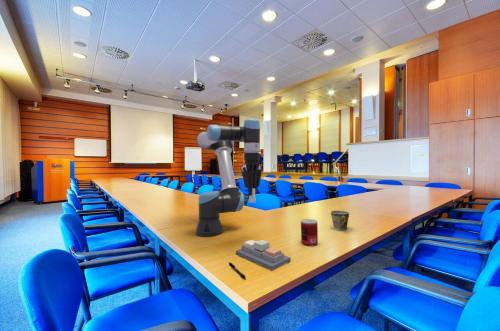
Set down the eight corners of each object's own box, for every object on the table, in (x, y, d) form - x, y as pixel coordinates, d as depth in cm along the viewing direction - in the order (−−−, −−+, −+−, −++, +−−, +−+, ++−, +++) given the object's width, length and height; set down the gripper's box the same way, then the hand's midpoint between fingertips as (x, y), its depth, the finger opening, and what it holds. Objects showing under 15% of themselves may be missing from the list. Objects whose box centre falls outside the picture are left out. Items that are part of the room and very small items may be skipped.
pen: (247, 281, 73) (248, 277, 73) (243, 280, 72) (244, 277, 72) (231, 264, 85) (232, 261, 85) (227, 264, 84) (228, 261, 84)
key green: (254, 248, 90) (253, 242, 90) (261, 245, 93) (261, 239, 93) (261, 251, 86) (261, 245, 86) (269, 248, 89) (269, 242, 90)
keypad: (235, 254, 94) (235, 245, 94) (253, 247, 101) (253, 239, 101) (272, 270, 78) (271, 260, 78) (290, 261, 86) (290, 252, 86)
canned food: (319, 242, 106) (319, 220, 106) (314, 247, 99) (314, 223, 100) (304, 239, 110) (304, 218, 110) (298, 244, 104) (298, 221, 104)
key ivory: (244, 248, 94) (244, 242, 94) (251, 245, 97) (251, 239, 97) (251, 250, 91) (251, 245, 91) (258, 248, 94) (258, 242, 94)
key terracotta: (264, 256, 85) (264, 250, 85) (272, 253, 88) (272, 247, 88) (273, 259, 82) (273, 253, 82) (281, 256, 85) (281, 250, 85)
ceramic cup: (328, 226, 133) (328, 210, 133) (345, 226, 132) (345, 210, 132) (336, 233, 120) (336, 215, 120) (354, 233, 119) (354, 215, 119)
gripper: (246, 151, 95) (246, 205, 96) (267, 152, 104) (267, 201, 104) (236, 152, 101) (236, 202, 101) (256, 152, 109) (256, 199, 110)
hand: (252, 201), depth 103 cm, fingers closed
